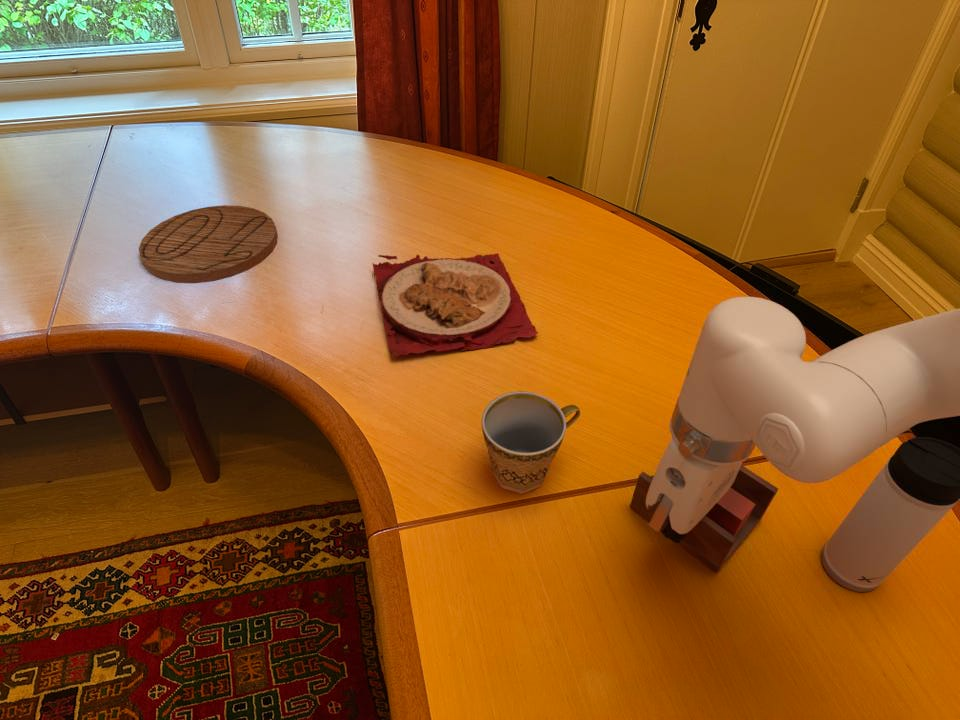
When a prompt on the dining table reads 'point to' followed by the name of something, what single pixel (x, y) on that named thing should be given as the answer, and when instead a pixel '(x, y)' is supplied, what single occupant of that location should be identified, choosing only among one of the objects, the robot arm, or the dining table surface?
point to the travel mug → (894, 513)
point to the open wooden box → (718, 517)
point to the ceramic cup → (524, 437)
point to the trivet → (208, 243)
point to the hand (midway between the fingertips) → (669, 530)
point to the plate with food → (449, 304)
